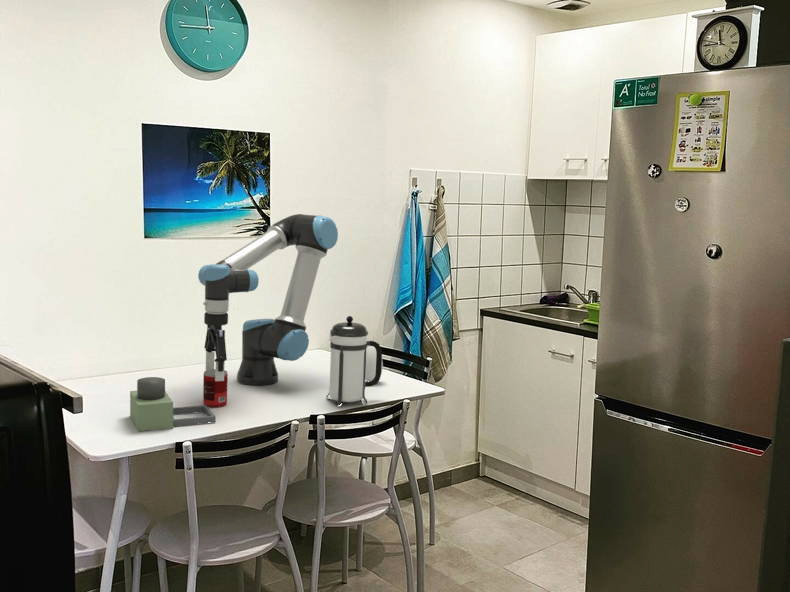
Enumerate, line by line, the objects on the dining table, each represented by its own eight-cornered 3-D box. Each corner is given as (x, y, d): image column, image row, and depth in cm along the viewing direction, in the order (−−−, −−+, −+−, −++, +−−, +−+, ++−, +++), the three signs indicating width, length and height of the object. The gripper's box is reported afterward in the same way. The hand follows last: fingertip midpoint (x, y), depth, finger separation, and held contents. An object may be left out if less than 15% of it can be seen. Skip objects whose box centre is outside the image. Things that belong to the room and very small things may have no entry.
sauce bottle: (381, 385, 289) (383, 338, 286) (360, 384, 289) (362, 337, 286) (382, 380, 296) (384, 334, 294) (362, 379, 297) (364, 333, 294)
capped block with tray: (204, 409, 249) (205, 370, 247) (216, 424, 235) (217, 382, 233) (130, 416, 239) (130, 375, 237) (137, 431, 225) (137, 388, 223)
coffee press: (359, 411, 255) (363, 322, 251) (316, 404, 261) (319, 316, 257) (380, 399, 271) (384, 314, 267) (340, 392, 277) (343, 310, 273)
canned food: (228, 401, 260) (229, 369, 258) (224, 408, 252) (225, 375, 250) (205, 400, 259) (206, 368, 258) (201, 407, 251) (201, 374, 250)
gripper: (196, 306, 260) (194, 368, 263) (213, 318, 238) (211, 385, 241) (218, 306, 264) (216, 367, 266) (237, 318, 242) (235, 384, 244)
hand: (214, 376), depth 254 cm, fingers open, 13 cm apart
